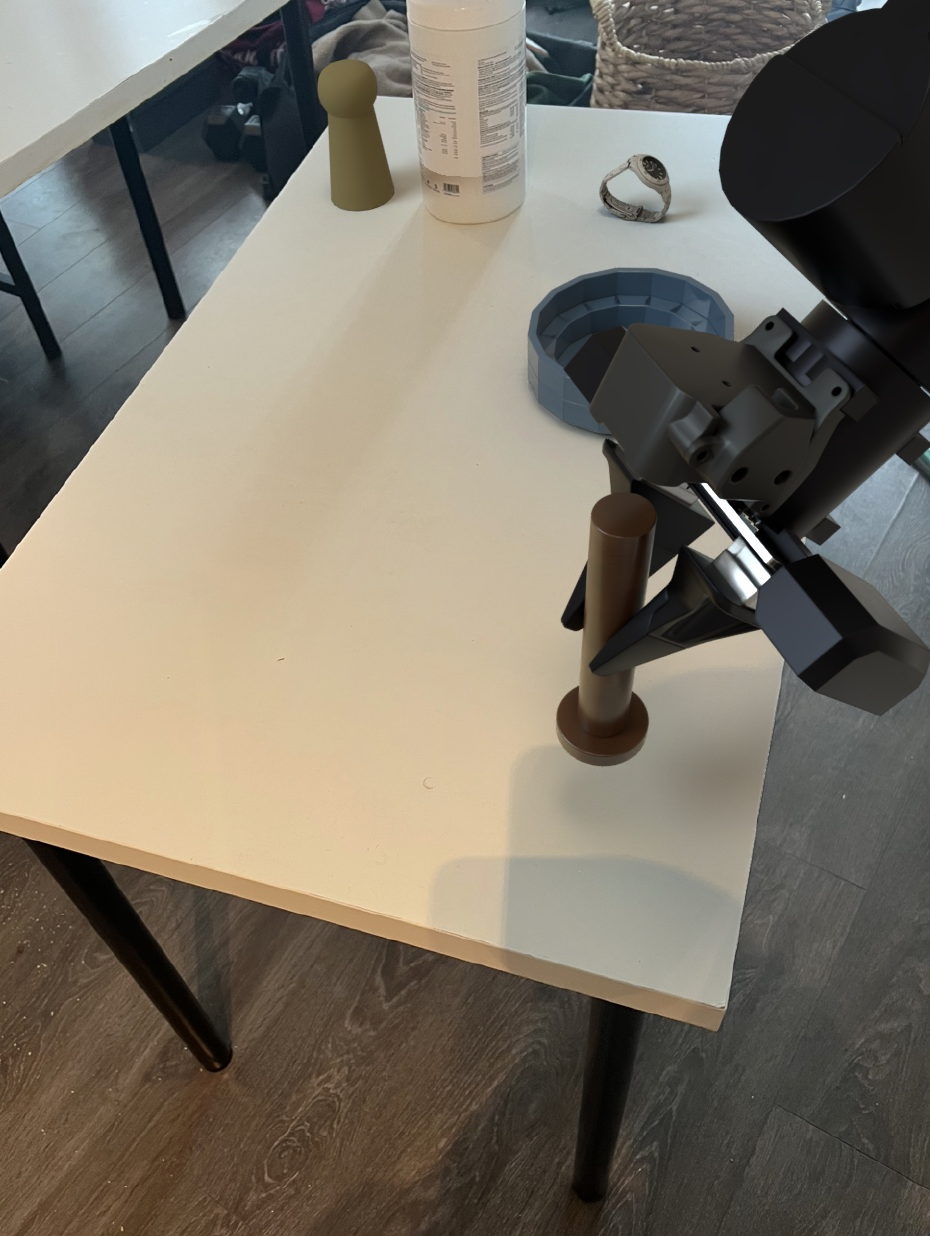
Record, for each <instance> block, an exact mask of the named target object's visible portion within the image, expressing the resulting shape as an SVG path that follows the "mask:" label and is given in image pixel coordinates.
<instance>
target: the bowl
mask: <svg viewBox="0 0 930 1236" xmlns="http://www.w3.org/2000/svg"><path fill="white" fill-rule="evenodd" d="M529 319H530V320H529V324H528V330H527V381H528V383H529V385H530V388H531V390H532V392H533V394H534V396H535V398H536V401H537V402H538V404H539V405H541V406H542V407H543V408H544V409H546V410H547V411H549V412H550V413H551V414H552V415H554V416H555V417H556V418H557V419H559V420H560V421H561V422H564V423H566V424H569V425H572V426H575V427H577V428H582V429H583V430H587V431H591V432H593V433H597V434H604V435H612V434H611V433H610V432H609V430H608V429H607V428H606V426H605V425H604V424H597V423H596V421H595V420H594V419H593V417H592V416H591V414H590V412H589V406H590V404H589V402H588V401H587V400H586V398H585V397H584V396H583V395H582V393H581V392H580V391H579V389H578V388H577V387H576V385H575V384H574V383H573V381H572V380H571V379H570V377H569V376H568V375H567V374H566V372H565V371H564V370H563V369H564V368H565V367H566V365H567V364H568V363H569V362H570V361H571V359H572V358H573V357H574V356H575V355H576V353H577V352H578V351H579V350H580V349H581V347H582V346H583V345H584V344H585V343H586V341H587V340H588V339H589V338H590V337H591V335H592V334H594V333H597V332H600V331H604V330H607V329H610V328H613V327H616V326H619V325H622V326H623V327H624V328H626V329H628V327H629V326H630V325H631V324H634V323H645V324H652V325H659V326H666V327H673V328H679V329H686V330H693V331H700V332H706V333H711V334H715V335H717V336H720V337H722V338H725V339H727V340H732V341H735V314H734V313H733V312H732V310H731V308H730V307H729V306H728V303H726V301H725V300H724V299H723V297H722V296H721V294H720V293H719V292H718V291H716V290H714V289H712V288H711V287H709V286H707V285H705V284H704V283H702V282H701V281H699V280H697V279H696V278H694V277H692V276H690V275H686V274H681V273H678V272H673V271H669V270H665V269H661V268H657V267H613V268H607V269H604V270H603V269H602V270H598V271H594V272H588V273H585V274H581V275H578V276H576V277H574V278H572V279H570V280H568V281H566V282H564V283H562V284H561V285H559V286H556V287H555V288H553V289H551V290H550V291H549V292H548V293H547V294H546V295H545V296H544V297H543V298H542V300H541V301H540V302H539V303H538V304H537V305H536V306H535V307H534V308H533V309H532V311H531V314H530V318H529Z"/></svg>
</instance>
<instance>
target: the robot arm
mask: <svg viewBox="0 0 930 1236" xmlns="http://www.w3.org/2000/svg"><path fill="white" fill-rule="evenodd" d="M718 175H719V180H720V186H721V190H722V192H723V193H724V194H723V195H724V196H725V198H726V199H727V202H728V203H729V205H730V206H731V207H732V208H733V209H734V210H735V211H736V213H738V214H739V215H740V216H741V217H742V218H743V219H744V220H745V221H746V222H747V223H748V224H749V225H751V227H752V228H754V230H756V231H757V232H758V233H759V234H760V235H761V236H762V237H763V238H764V239H765V240H766V241H767V242H768V243H769V244H770V245H771V246H772V247H773V248H774V249H775V250H776V251H777V252H778V253H779V254H780V255H781V256H783V258H784V259H786V261H788V263H789V264H791V266H792V267H794V268H795V269H796V270H797V271H798V272H799V273H800V274H801V275H802V276H803V277H804V278H805V279H806V280H807V281H808V282H809V283H811V285H812V286H813V287H814V288H815V289H817V290H818V292H820V293H821V294H822V295H823V296H824V298H825V299H826V300H827V301H828V302H829V303H828V302H827V301H826V300H825V299H821V300H820V301H819V302H818V303H817V304H816V305H815V306H814V307H813V308H812V309H811V311H810V312H809V313H808V314H807V315H806V316H805V317H804V318H803V319H802V320H801V321H799V320H798V319H797V318H796V317H795V316H794V315H792V314H791V312H790V311H788V310H787V309H786V308H784V307H781V308H780V309H779V310H778V312H776V313H775V314H771V315H769V316H766V317H765V318H764V319H763V320H762V321H761V322H760V323H759V325H757V327H755V329H754V330H753V331H751V333H750V334H748V335H747V336H746V337H745V338H743V339H741V340H740V341H736V340H734V341H732V340H727V339H725V338H722V337H720V336H717V335H715V334H711V333H706V332H700V331H693V330H686V329H679V328H673V327H666V326H659V325H652V324H645V323H634V324H631V325H630V326H629V327H628V329H626V328H624V327H623V326H622V325H619V326H616V327H613V328H610V329H607V330H604V331H600V332H597V333H594V334H592V335H591V337H590V338H589V339H588V340H587V341H586V343H585V344H584V345H583V346H582V347H581V349H580V350H579V351H578V352H577V353H576V355H575V356H574V357H573V358H572V359H571V361H570V362H569V363H568V364H567V365H566V367H565V368H564V369H563V370H564V371H565V372H566V374H567V375H568V376H569V377H570V379H571V380H572V381H573V383H574V384H575V385H576V387H577V388H578V389H579V391H580V392H581V393H582V395H583V396H584V397H585V398H586V400H587V401H588V402H589V404H590V406H589V412H590V414H591V416H592V417H593V419H594V420H595V421H596V423H597V424H604V425H605V426H606V428H607V429H608V430H609V432H610V433H611V434H610V435H611V436H612V437H613V438H614V439H615V441H616V442H615V441H614V440H612V439H610V438H606V437H605V438H604V440H603V442H602V447H601V448H602V449H601V453H602V454H603V456H604V458H605V459H606V462H607V465H608V475H609V486H610V488H609V489H610V494H613V493H619V492H627V493H634V494H637V495H640V496H642V497H644V498H646V499H647V500H649V501H650V502H651V503H652V504H653V506H654V507H655V510H656V512H657V522H656V529H655V535H654V542H653V549H652V556H651V563H650V570H649V577H648V580H649V579H650V578H651V577H653V576H654V575H655V574H656V573H657V572H658V571H660V570H661V569H662V568H663V567H665V566H666V565H667V564H668V563H670V562H671V561H672V560H673V559H674V558H676V557H677V558H676V561H675V565H674V569H673V571H672V576H671V578H670V580H669V582H668V583H667V584H666V585H665V586H664V587H663V588H662V589H660V591H659V592H658V593H657V594H656V595H655V596H653V598H651V599H650V600H649V602H647V603H645V604H644V607H643V608H642V609H641V610H640V611H639V612H638V613H637V614H636V615H635V616H634V617H633V618H632V619H631V620H630V621H628V622H627V623H626V624H625V625H624V626H623V627H622V628H621V629H620V630H619V631H618V632H617V633H616V634H615V635H614V636H613V637H612V638H610V639H609V640H608V641H607V643H606V644H605V645H604V646H603V647H602V648H601V650H600V651H599V652H598V653H597V654H596V656H595V657H594V658H593V659H592V661H591V662H590V663H589V665H588V668H589V670H590V671H591V673H592V674H595V675H598V676H601V677H607V676H610V675H613V674H616V673H619V672H622V671H625V670H627V669H630V668H633V667H635V668H636V667H638V666H639V667H640V666H641V665H644V664H647V663H650V662H653V661H656V660H659V659H662V658H665V657H667V656H670V655H671V656H672V655H673V654H676V653H679V652H682V651H684V650H687V649H691V648H694V647H697V646H700V645H702V644H706V643H711V642H714V641H717V640H722V639H726V638H731V637H735V636H740V635H744V634H748V633H753V632H757V631H762V632H763V634H764V636H765V637H766V638H767V639H768V640H769V642H770V643H771V644H772V646H773V647H774V648H775V649H776V651H777V652H778V654H779V655H780V656H781V657H782V659H783V660H784V661H785V663H786V664H787V665H788V667H789V668H790V669H791V671H792V672H793V673H794V675H795V676H796V677H797V678H798V679H799V680H801V681H802V682H803V683H804V684H805V685H806V686H807V687H809V688H810V689H811V690H812V691H813V692H814V693H816V694H819V695H822V696H825V697H827V698H830V699H832V700H835V701H838V702H841V703H843V704H846V705H849V706H851V707H854V708H857V709H860V710H861V711H865V712H867V713H870V714H872V715H875V716H877V717H882V716H883V715H885V714H886V713H888V712H889V711H890V710H891V709H892V708H895V706H897V705H898V704H900V702H902V701H903V700H904V699H906V698H907V697H908V696H910V695H911V694H913V693H914V692H915V691H916V690H918V689H919V688H920V686H921V684H922V682H923V681H924V679H925V677H926V675H927V673H928V670H929V666H930V648H929V646H928V645H927V644H926V642H924V641H923V640H922V639H921V637H920V636H919V635H918V634H917V633H916V632H915V631H914V630H913V628H912V627H911V626H910V625H909V624H908V623H907V622H906V621H905V619H904V618H903V617H902V616H901V614H899V612H898V611H897V610H896V609H895V608H894V607H893V606H892V605H891V604H890V602H888V600H887V599H886V598H885V597H884V595H882V594H881V592H880V591H879V590H878V589H877V587H876V586H874V585H873V584H872V583H871V582H868V581H867V580H865V579H863V578H862V577H860V576H858V575H856V574H854V573H853V572H851V571H850V570H848V569H846V568H844V567H842V566H841V565H839V564H837V563H835V562H834V561H832V560H830V559H829V558H827V557H825V556H824V555H822V554H820V553H815V554H814V553H813V552H812V551H811V549H809V547H807V546H806V544H805V543H804V542H803V541H802V539H804V538H806V539H808V540H809V541H811V542H813V543H814V544H816V545H817V546H819V547H821V546H822V545H823V544H824V543H826V542H827V541H828V540H829V539H830V538H831V537H832V536H834V534H836V533H837V532H838V531H839V530H840V529H841V528H842V526H841V525H840V524H839V523H838V522H837V521H836V520H835V518H833V516H832V515H831V513H832V512H833V511H834V510H836V508H838V507H839V506H840V505H841V504H842V503H843V502H844V501H845V500H847V499H848V498H849V497H850V496H851V495H852V494H853V493H855V491H856V490H857V489H858V488H860V487H861V486H862V485H863V484H864V483H865V482H866V481H867V480H869V479H870V478H871V477H872V476H873V475H874V474H875V473H876V472H877V471H879V470H880V468H881V467H883V466H884V465H885V464H886V463H888V461H889V460H890V459H892V458H893V457H894V456H895V455H896V456H897V457H898V458H899V459H900V460H902V461H903V462H904V463H905V464H907V465H908V466H909V467H910V466H912V465H913V464H914V463H915V462H916V461H917V460H918V459H919V458H920V457H922V456H923V455H924V454H925V453H926V452H927V451H928V450H930V440H928V439H927V438H926V437H925V436H924V435H923V434H922V433H921V431H922V430H924V428H925V427H927V426H928V425H929V424H930V0H886V1H885V2H884V4H883V5H882V6H881V7H873V8H867V9H862V10H858V11H853V12H849V13H847V14H844V15H842V16H840V17H837V18H836V19H833V20H831V21H828V22H826V23H824V24H822V25H820V26H819V27H817V28H815V30H813V31H811V32H810V33H808V34H807V35H805V36H803V37H802V38H801V39H799V40H798V41H797V42H796V43H794V45H792V46H791V47H790V48H789V49H788V50H787V51H785V52H784V53H783V54H780V53H778V54H775V55H774V56H773V57H771V58H770V59H769V60H768V61H767V62H766V63H765V65H764V66H763V67H761V69H760V70H759V72H757V74H756V75H755V76H754V77H753V79H752V80H751V82H750V83H749V85H748V86H747V88H746V90H745V91H744V93H743V94H742V96H741V97H740V98H739V100H738V102H737V103H736V105H735V108H734V111H733V112H732V114H731V117H730V119H729V120H728V122H727V125H726V128H725V131H724V135H723V139H722V142H721V146H720V149H719V162H718ZM705 508H706V509H707V510H706V509H705ZM708 512H709V513H708ZM746 517H747V518H746ZM716 522H717V523H718V525H719V526H720V527H721V529H722V530H723V531H724V532H725V534H726V535H727V537H729V539H730V540H731V541H732V542H731V543H730V545H729V546H727V547H726V548H724V550H722V552H720V553H719V554H718V555H717V556H716V557H715V558H712V557H710V556H709V555H706V554H705V553H703V552H700V551H699V550H696V549H694V548H692V547H691V546H690V545H691V544H692V543H694V542H695V541H696V540H698V539H699V538H700V537H701V536H703V535H704V534H705V533H706V532H708V530H710V529H711V528H712V527H714V525H715V524H716ZM752 524H753V525H752ZM587 564H588V559H586V562H585V564H584V566H583V568H582V571H581V572H580V575H579V578H578V579H577V582H576V584H575V587H574V588H573V590H572V593H571V595H570V597H569V599H568V602H567V604H566V605H565V608H564V610H563V613H562V614H561V617H560V623H561V625H562V626H563V628H564V629H566V630H569V631H572V632H579V631H581V630H583V622H584V608H585V593H586V578H587Z"/></svg>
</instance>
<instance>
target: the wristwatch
mask: <svg viewBox="0 0 930 1236" xmlns="http://www.w3.org/2000/svg"><path fill="white" fill-rule="evenodd" d="M627 170H630V171H631V172H633V173H634V174H635V176H636V177H637V178H638V180H639V181H640V182H641V184H643V185H644V186H646V187H647V188H649V189H652V190H653V191H655V192H656V193H657V194H658V195H660V197H661V200H662V203H664V204H663V207H662V208H661V209H660V210H652V211H650V210H648V209H646V208H644V205H642V204H641V205H633V204H629V203H626V202H625V201H622V200H620V199H618V198H617V197H615V196H614V195H613V194H612V193H611V192H610V190H609V188H608V186H607V185H608V182H609V181H611V180H613V178H616V177H617V176H619V175H620V174H622V173H624V172H626V171H627ZM598 192H599V193H598V195H599V198H600V201H601V202H602V204H603V206H604V208H605V209H607V210H608V213H609V214H611V215H613V216H615V217H617V218H619V219H622V220H625V221H632V222H642V223H651V224H652V223H655V222H657V221H660V220H661V218H662V217H663V216H665V214H667V212H668V211H669V209H670V206H671V202H672V187H671V184H670V175H669V172H668V169H667V168H666V166H665V165H664V164H663V162H662V161H661V160H660V159H658V158H657V157H655V156H654V155H651V154H646V153H645V154H644V153H637V154H634V155H632V156H630V157H629V158H628V159H626V161H625V162H623V163H621V164H620V165H619V166H618V167H616V168H614V169H612V170H611V171H609V172H608V173H606V175H605V176H604V177H603V178H602V181H601V183H600V186H599V191H598Z"/></svg>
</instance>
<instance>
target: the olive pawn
mask: <svg viewBox="0 0 930 1236" xmlns="http://www.w3.org/2000/svg"><path fill="white" fill-rule="evenodd" d="M317 96H318V99H319V102H320V104H321V106H322V107H323V109H324V110H325V111H326V112H327V131H328V152H329V153H328V156H329V177H330V199H331V203H332V204H333V205H334V206H336V207H337V208H339V209H342V210H344V211H345V210H346V211H352V212H359V211H368V210H373V209H377V208H378V207H381V206H383V205H385V204H386V203H387V202H388V201H390V200H391V199H392V197H393V196H394V194H395V185H394V181H393V178H392V174H391V170H390V169H391V168H390V166H389V163H388V162H389V161H388V158H387V153H386V150H385V149H386V148H385V146H384V142H383V138H382V134H381V130H380V125H379V122H378V118H377V113H376V110H375V109H376V108H375V106H374V105H375V103H376V100H377V97H378V80H377V76H376V73H375V71H374V70H373V68H372V67H371V66H370V65H369V63H367V62H366V61H362V60H360V59H355V58H353V59H352V58H347V59H341V60H337V61H334V62H331V63H329V64H328V65H327V66H325V67H324V68H323V69H322V70H321V72H320V73H319V76H318V79H317Z"/></svg>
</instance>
